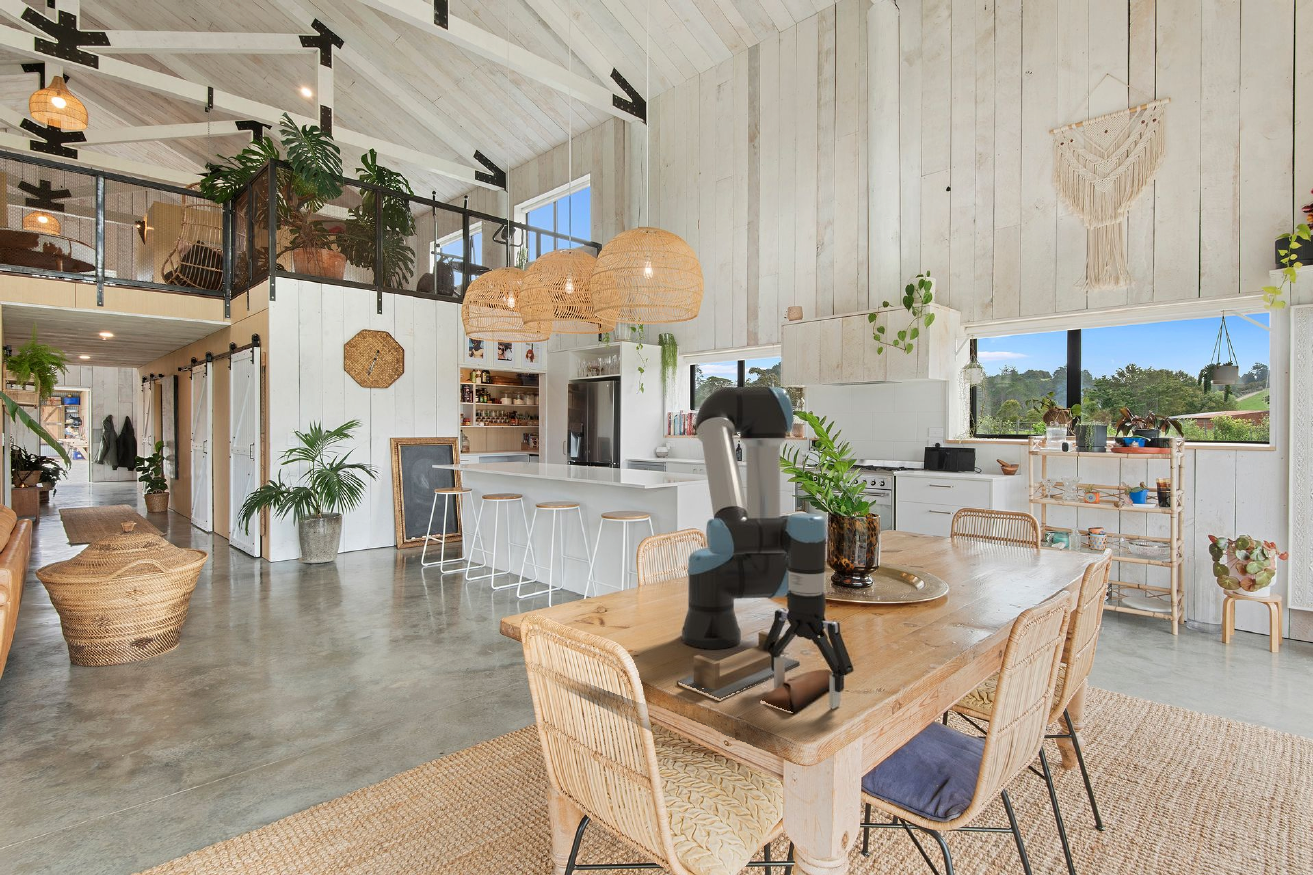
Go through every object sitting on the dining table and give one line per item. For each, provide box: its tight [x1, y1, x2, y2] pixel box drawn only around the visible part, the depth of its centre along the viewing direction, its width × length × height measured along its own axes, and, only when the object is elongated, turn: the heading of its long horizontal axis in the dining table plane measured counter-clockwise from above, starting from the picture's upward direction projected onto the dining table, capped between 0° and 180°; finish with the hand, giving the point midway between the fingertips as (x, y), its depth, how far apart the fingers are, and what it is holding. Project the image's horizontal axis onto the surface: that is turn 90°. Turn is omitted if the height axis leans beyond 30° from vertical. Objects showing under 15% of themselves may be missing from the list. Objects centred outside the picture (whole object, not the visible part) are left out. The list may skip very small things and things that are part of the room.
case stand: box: [676, 630, 801, 699], centre depth 146 cm, size 12×28×6 cm, turn 134°
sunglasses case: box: [760, 669, 833, 714], centre depth 135 cm, size 18×7×7 cm
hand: (806, 696), depth 133 cm, fingers open, 12 cm apart
